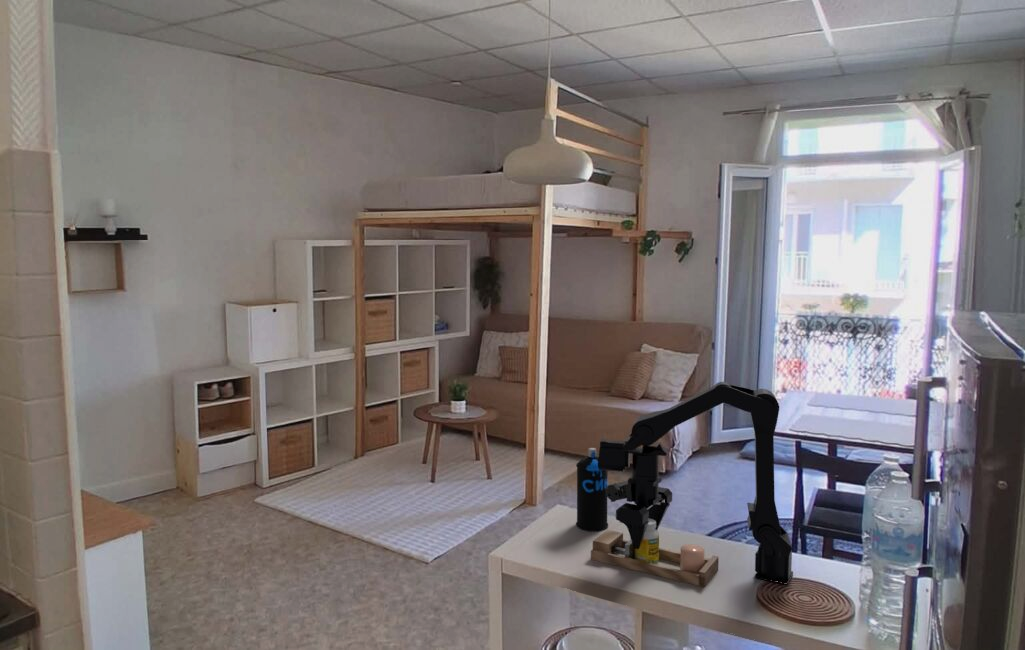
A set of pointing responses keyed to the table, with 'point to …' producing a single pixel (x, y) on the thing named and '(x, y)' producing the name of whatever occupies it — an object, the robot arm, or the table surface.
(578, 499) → the aerosol can
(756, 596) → the table surface
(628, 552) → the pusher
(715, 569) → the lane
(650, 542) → the supplement bottle
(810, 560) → the table surface
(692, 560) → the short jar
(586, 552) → the table surface
